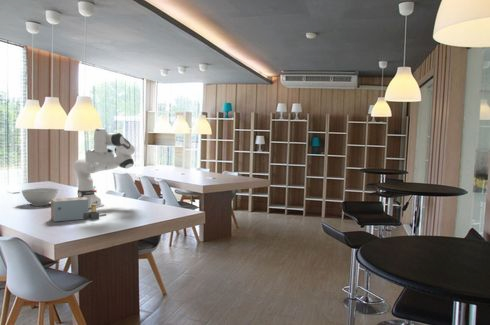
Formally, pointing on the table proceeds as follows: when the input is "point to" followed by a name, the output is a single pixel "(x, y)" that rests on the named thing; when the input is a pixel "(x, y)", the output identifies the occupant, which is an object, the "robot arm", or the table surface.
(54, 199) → the cabinet
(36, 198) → the decorative bowl
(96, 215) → the grey hollow ring
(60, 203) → the cabinet door
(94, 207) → the hinge pin
